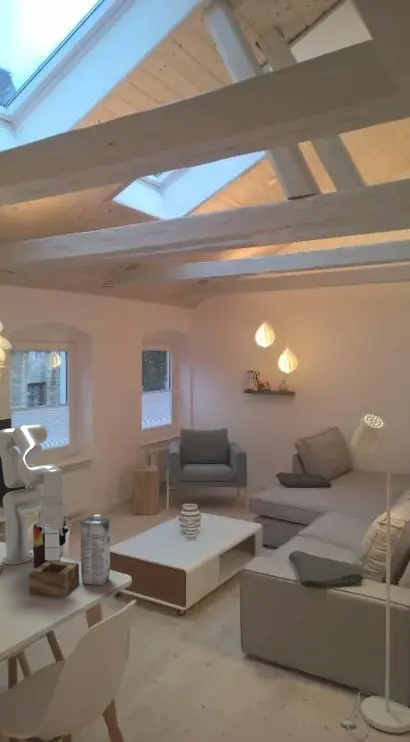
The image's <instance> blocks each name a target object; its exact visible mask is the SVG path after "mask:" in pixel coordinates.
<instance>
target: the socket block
mask: <svg viewBox="0 0 410 742" xmlns="http://www.w3.org/2000/svg"><path fill="white" fill-rule="evenodd" d="M28 584H29V585H28V588H29V589H28V592H29V593H28V594H29V595H38V596H47V597H54V598H63V597H64V596H65V595H66V594H68V593H69V592H70V591H71V590H72V589H74V588H75V587H76V586H78V584H80V564H79V563H77V562H70V561H69V562H68V561H61V560H60V561H52V560H48V561H46V562H45V563H43V564H42V565H41V566H39V567H38V568H36V569H35V568H34V570H32V571H30V572H29V573H28Z"/></svg>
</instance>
